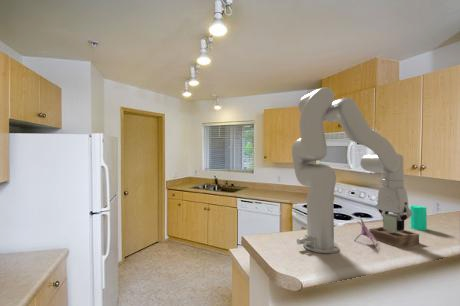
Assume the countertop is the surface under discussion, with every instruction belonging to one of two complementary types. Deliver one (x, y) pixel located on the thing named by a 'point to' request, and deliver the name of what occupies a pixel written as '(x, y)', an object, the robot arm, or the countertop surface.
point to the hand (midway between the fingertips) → (393, 227)
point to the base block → (395, 237)
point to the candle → (418, 218)
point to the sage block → (390, 222)
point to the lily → (366, 232)
